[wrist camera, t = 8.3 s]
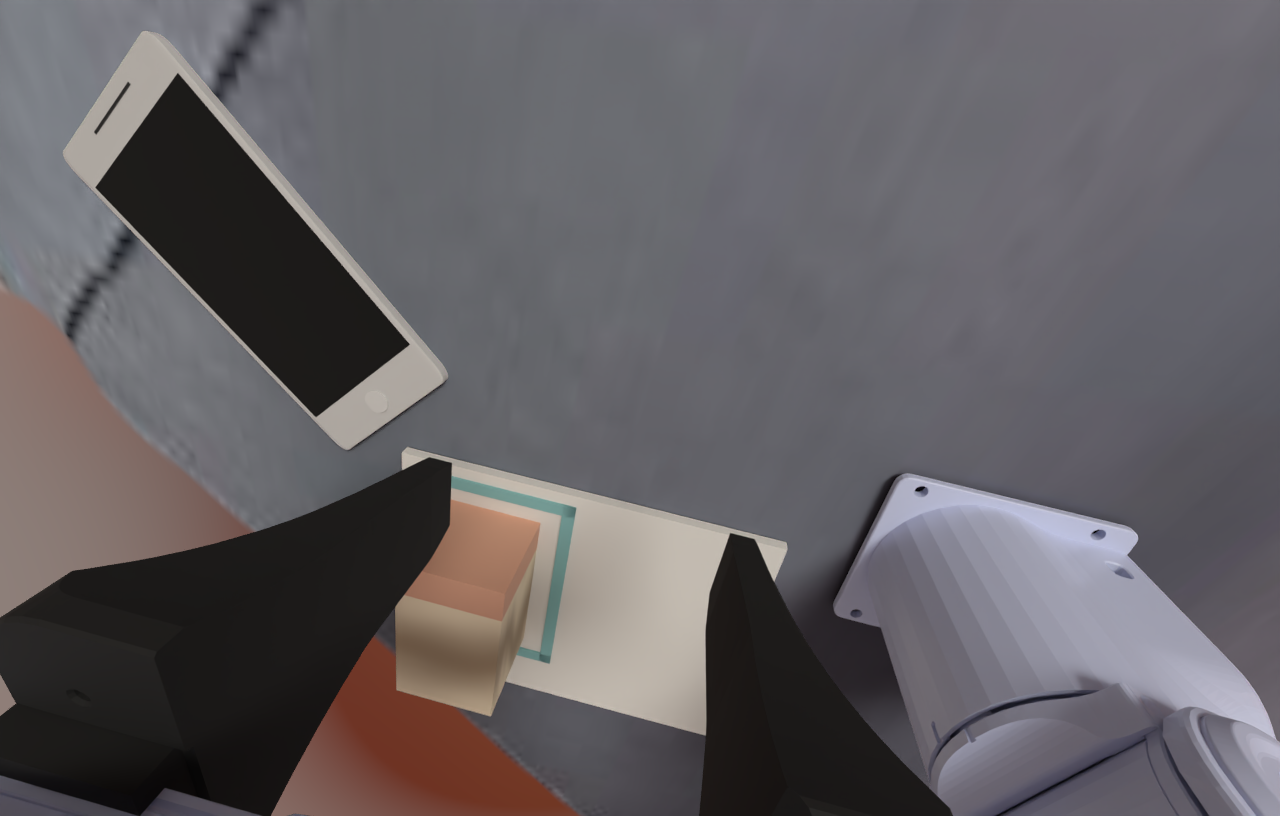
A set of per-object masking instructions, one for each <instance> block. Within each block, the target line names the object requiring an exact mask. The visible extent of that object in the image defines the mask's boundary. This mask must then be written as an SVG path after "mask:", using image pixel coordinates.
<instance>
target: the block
mask: <svg viewBox="0 0 1280 816" xmlns="http://www.w3.org/2000/svg"><path fill="white" fill-rule="evenodd" d="M540 524H541V523H539V522H535V521H531V520H528V519H524V518H520V517H516V516H512V515H509V514H505V513H501V512H497V511H493V510H489V509H486V508H482V507H478V506H474V505H470V504H467V503H463V502H459V501H455V500H451V507H450V526H449V528H448V530H447V532H446V533H445V535H444V537H443V539H442V541H441V543H440V544H439V546H438V548H437V549H436V551H435V553H434V555H433V556H432V558H431V560H430V561H429V562H428V564H427V565H426V567H425V568H424V569H423V571H422V572H421V573H420V575H419V576H418V577H417V579H416V580H415V581H414V583H413V584H412V585H411V587H410V588H409V589H408V591H407V592H406V593H405V595H404V596H403V597H402V599H401V600H400V601H399V603H398V604H397V605H396V607H395V624H396V686H397V687H396V690H398V691H402V692H405V693H409V694H412V695H416V696H419V697H423V698H426V699H430V700H434V701H437V702H441V703H444V704H448V705H452V706H455V707H459V708H462V709H466V710H469V711H473V712H477V713H480V714H484V715H487V716H491V715H492V712H493V710H494V708H495V705H496V703H497V700H498V698H499V696H500V693H501V691H502V688H503V686H504V684H505V681H506V679H507V677H508V674H509V672H510V669H511V667H512V665H513V662H514V660H515V657H516V655H517V653H518V650H519V648H520V645H521V643H522V641H523V638H524V633H525V626H526V619H527V612H528V606H529V599H530V592H531V585H532V578H533V571H534V565H535V558H536V551H537V544H538V537H539V530H540Z"/></svg>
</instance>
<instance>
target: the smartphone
mask: <svg viewBox="0 0 1280 816" xmlns="http://www.w3.org/2000/svg"><path fill="white" fill-rule="evenodd" d="M63 156H64V158H65V160H66V162H67V163H68V165H69V166H70V167H71V168H72V170H73V171H74V172H75V173H76V174H77V175H78V176H79V177H80V178H81V179H82V180H83V181H84V182H85V183H86V184H87V185H88V186H89V187H90V189H91V190H92V191H93V192H94V193H95V194H96V195H97V196H98V197H99V198H100V199H101V200H102V201H103V202H104V203H105V204H106V205H107V206H108V207H109V208H110V209H111V210H112V211H113V212H114V213H115V214H116V215H117V217H118V218H119V219H120V220H121V221H122V222H123V223H124V224H125V225H126V226H127V227H128V228H129V229H130V230H131V231H132V232H133V233H134V234H135V235H136V236H137V237H138V238H139V239H140V240H141V241H142V242H143V244H144V245H145V246H146V247H147V248H148V249H149V250H150V251H151V252H152V253H153V254H154V255H155V256H156V257H157V258H158V259H159V260H160V261H161V262H162V263H163V264H164V265H165V266H166V267H167V268H168V269H169V270H170V272H171V273H172V274H173V275H174V276H175V277H176V278H177V279H178V280H179V281H180V282H181V283H182V284H183V285H184V286H185V287H186V288H187V289H188V290H189V291H190V292H191V293H192V294H193V295H194V296H195V297H196V299H197V300H198V301H199V302H200V303H201V304H202V305H203V306H204V307H205V308H206V309H207V310H208V311H209V312H210V313H211V314H212V315H213V316H214V317H215V318H216V319H217V320H218V321H219V322H220V323H221V324H222V325H223V327H224V328H225V329H226V330H227V331H228V332H229V333H230V334H231V335H232V336H233V337H234V338H235V339H236V340H237V341H238V342H239V343H240V344H241V345H242V346H243V347H244V348H245V349H246V350H247V351H248V352H249V354H250V355H251V356H252V357H253V358H254V359H255V360H256V361H257V362H258V363H259V364H260V365H261V366H262V367H263V368H264V369H265V370H266V371H267V372H268V373H269V374H270V375H271V376H272V377H273V378H274V379H275V380H276V382H277V383H278V384H279V385H280V386H281V387H282V388H283V389H284V390H285V391H286V392H287V393H288V394H289V395H290V396H291V397H292V398H293V399H294V400H295V401H296V402H297V403H298V404H299V405H300V406H301V407H302V409H303V410H304V411H305V412H306V413H307V414H308V415H309V416H310V417H311V418H312V419H313V420H314V421H315V422H316V423H317V424H318V425H319V426H320V427H321V428H322V429H323V430H324V431H325V432H326V433H327V434H328V435H329V437H330V438H331V439H332V440H333V441H334V442H335V443H336V444H338V445H339V446H340V447H342V448H343V449H346V450H349V449H351V448H352V447H353V446H355V445H356V444H358V443H359V442H361V441H362V440H363V439H365V438H366V437H368V436H369V435H370V434H372V433H373V432H375V431H376V430H377V429H379V428H380V427H382V426H383V425H384V424H386V423H387V422H389V421H390V420H391V419H393V418H394V417H396V416H397V415H398V414H400V413H401V412H403V411H404V410H406V409H407V408H408V407H410V406H411V405H413V404H414V403H415V402H417V401H418V400H420V399H421V398H422V397H424V396H425V395H427V394H428V393H429V392H431V391H432V390H434V389H435V388H436V387H438V386H439V385H441V384H442V383H443V382H445V381H446V380H447V379H448V373H447V371H446V369H445V367H444V366H443V365H442V363H441V362H440V361H439V360H438V359H437V357H436V356H435V355H434V354H433V353H432V351H431V350H430V349H429V348H428V347H427V346H426V344H425V343H424V342H423V341H422V340H421V338H420V337H419V336H418V335H417V334H416V332H415V331H414V330H413V329H412V328H411V327H410V325H409V324H408V323H407V322H406V321H405V319H404V318H403V317H402V316H401V315H400V314H399V312H398V311H397V310H396V309H395V308H394V306H393V305H392V304H391V303H390V302H389V301H388V299H387V298H386V297H385V296H384V295H383V293H382V292H381V291H380V290H379V289H378V288H377V286H376V285H375V284H374V283H373V282H372V280H371V279H370V278H369V277H368V276H367V275H366V273H365V272H364V271H363V270H362V269H361V267H360V266H359V265H358V264H357V263H356V262H355V260H354V259H353V258H352V257H351V256H350V254H349V253H348V252H347V251H346V250H345V248H344V247H343V246H342V245H341V244H340V243H339V241H338V240H337V239H336V238H335V237H334V235H333V234H332V233H331V232H330V231H329V230H328V228H327V227H326V226H325V225H324V224H323V222H322V221H321V220H320V219H319V218H318V217H317V215H316V214H315V213H314V212H313V211H312V209H311V208H310V207H309V206H308V205H307V204H306V202H305V201H304V200H303V199H302V198H301V196H300V195H299V194H298V193H297V192H296V191H295V189H294V188H293V187H292V186H291V185H290V183H289V182H288V181H287V180H286V179H285V178H284V176H283V175H282V174H281V173H280V172H279V170H278V169H277V168H276V167H275V166H274V164H273V163H272V162H271V161H270V160H269V159H268V157H267V156H266V155H265V154H264V153H263V151H262V150H261V149H260V148H259V147H258V146H257V144H256V143H255V142H254V141H253V140H252V138H251V137H250V136H249V135H248V134H247V133H246V131H245V130H244V129H243V128H242V127H241V125H240V124H239V123H238V122H237V121H236V120H235V118H234V117H233V116H232V115H231V114H230V112H229V111H228V110H227V109H226V108H225V107H224V105H223V104H222V103H221V102H220V101H219V99H218V98H217V97H216V96H215V95H214V94H213V92H212V91H211V90H210V89H209V88H208V86H207V85H206V84H205V83H204V82H203V80H202V79H201V78H200V77H199V76H198V75H197V73H196V72H195V71H194V70H193V69H192V67H191V66H190V65H189V64H188V63H187V62H186V60H185V59H184V58H183V57H182V56H181V54H180V53H179V52H178V51H177V50H176V49H175V47H174V46H173V45H172V44H171V43H170V42H169V41H168V40H167V39H166V38H164V37H163V36H162V35H160V34H157V33H154V32H149V31H143V32H141V34H140V35H139V37H138V38H137V40H136V41H135V43H134V45H133V46H132V48H131V49H130V51H129V52H128V54H127V55H126V57H125V58H124V60H123V61H122V63H121V64H120V66H119V67H118V69H117V70H116V72H115V73H114V75H113V76H112V78H111V79H110V81H109V83H108V84H107V86H106V87H105V89H104V90H103V92H102V93H101V95H100V96H99V98H98V99H97V101H96V102H95V104H94V105H93V107H92V108H91V110H90V111H89V113H88V114H87V116H86V117H85V119H84V120H83V122H82V124H81V125H80V127H79V128H78V130H77V131H76V133H75V134H74V136H73V137H72V139H71V140H70V142H69V143H68V145H67V146H66V148H65V149H64V151H63Z"/></svg>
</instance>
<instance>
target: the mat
mask: <svg viewBox="0 0 1280 816" xmlns="http://www.w3.org/2000/svg"><path fill="white" fill-rule="evenodd" d="M429 457H431V458H435V459H439V460H443V461H447V462H451V463H452V479H451V500H455V501H459V502H463V503H467V504H470V505H474V506H478V507H482V508H486V509H489V510H493V511H497V512H501V513H505V514H509V515H512V516H516V517H520V518H524V519H528V520H531V521H535V522H539V523H541V524H540V530H539V537H538V544H537V551H536V558H535V565H534V571H533V578H532V585H531V592H530V599H529V606H528V612H527V619H526V626H525V633H524V638H523V641H522V643H521V645H520V648H519V650H518V653H517V655H516V657H515V660H514V662H513V665H512V667H511V669H510V672H509V674H508V677H507V679H506V681H505V682H509V683H513V684H517V685H520V686H524V687H528V688H531V689H535V690H539V691H542V692H546V693H550V694H553V695H557V696H561V697H565V698H568V699H572V700H576V701H579V702H583V703H587V704H590V705H594V706H598V707H602V708H605V709H609V710H613V711H616V712H620V713H624V714H627V715H631V716H635V717H639V718H642V719H646V720H650V721H653V722H657V723H661V724H664V725H668V726H672V727H676V728H679V729H683V730H687V731H690V732H694V733H698V734H701V735H705V736H706V649H705V630H706V620H707V610H708V602H709V593H710V590H711V587H712V584H713V581H714V578H715V575H716V572H717V569H718V567H719V564H720V561H721V558H722V555H723V552H724V549H725V546H726V543H727V541H728V538H729V535H730V533H733V534H737V535H741V536H745V537H749V538H753V539H755V541H756V542H757V544H758V547H759V549H760V551H761V554H762V556H763V558H764V561H765V563H766V565H767V567H768V570H769V572H770V574H771V576H772V578H773V580H774V581H775V578H776V576H777V574H778V571H779V569H780V566H781V564H782V562H783V559H784V557H785V554H786V552H787V543H786V542H783V541H779V540H775V539H771V538H767V537H763V536H759V535H755V534H751V533H747V532H743V531H739V530H735V529H731V528H727V527H723V526H719V525H715V524H711V523H707V522H703V521H699V520H695V519H691V518H687V517H683V516H679V515H675V514H672V513H668V512H664V511H660V510H656V509H652V508H648V507H644V506H640V505H636V504H632V503H628V502H624V501H620V500H616V499H612V498H608V497H604V496H600V495H596V494H592V493H588V492H584V491H580V490H576V489H572V488H568V487H564V486H560V485H556V484H552V483H548V482H544V481H540V480H536V479H532V478H528V477H524V476H520V475H516V474H512V473H508V472H504V471H500V470H496V469H492V468H488V467H484V466H480V465H476V464H472V463H468V462H464V461H461V460H457V459H453V458H449V457H445V456H441V455H437V454H433V453H429V452H425V451H421V450H417V449H413V448H409V447H407V448H406V449H405V450H404V451H403V452H402V470H404V469H406V468H408V467H410V466H412V465H414V464H416V463H418V462H420V461H422V460H424V459H426V458H429Z"/></svg>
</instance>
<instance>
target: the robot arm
mask: <svg viewBox="0 0 1280 816" xmlns="http://www.w3.org/2000/svg"><path fill="white" fill-rule="evenodd" d="M451 479H452V463H451V462H447V461H443V460H439V459H435V458H431V457H429V458H426V459H424V460H422V461H420V462H418V463H416V464H414V465H412V466H410V467H408V468H406V469H404V470H402V471H400V472H398V473H396V474H394V475H392V476H390V477H388V478H386V479H384V480H382V481H380V482H378V483H375V484H373V485H371V486H369V487H367V488H365V489H363V490H361V491H359V492H357V493H355V494H352V495H350V496H348V497H346V498H343V499H341V500H339V501H336V502H334V503H332V504H330V505H327V506H325V507H323V508H320V509H318V510H316V511H313V512H311V513H308V514H306V515H303V516H301V517H298V518H295V519H293V520H290V521H287V522H284V523H281V524H278V525H275V526H272V527H270V528H267V529H263V530H260V531H257V532H253V533H250V534H247V535H243V536H240V537H237V538H233V539H229V540H226V541H222V542H219V543H215V544H211V545H208V546H203V547H199V548H195V549H191V550H187V551H183V552H178V553H173V554H168V555H163V556H159V557H154V558H149V559H143V560H139V561H132V562H126V563H120V564H114V565H108V566H102V567H95V568H90V569H84V570H75V571H72V572H70V573H68V574H67V575H65V576H64V577H62V578H61V579H59V580H58V581H56V582H55V583H53V584H51V585H50V586H48V587H47V588H45V589H44V590H42V591H41V592H39V593H38V594H36V595H34V596H33V597H32V598H30V599H28V600H27V601H25V602H24V603H22V604H21V605H19V606H17V607H16V608H14V609H13V610H11V611H10V612H8V613H7V614H5V615H3V616H2V617H0V675H1V676H2V678H3V680H4V682H5V684H6V685H7V687H8V689H9V691H10V693H11V695H12V697H13V698H14V700H15V702H16V704H15V705H14V706H13V707H11V708H10V709H9V710H7V711H6V712H5V713H4V714H2V715H1V716H0V816H271V814H272V812H273V810H274V808H275V806H276V804H277V802H278V801H279V799H280V797H281V795H282V793H283V791H284V789H285V787H286V785H287V783H288V781H289V779H290V778H291V775H292V773H293V772H294V770H295V768H296V766H297V764H298V762H299V761H300V759H301V757H302V755H303V754H304V752H305V750H306V748H307V746H308V745H309V743H310V741H311V739H312V737H313V735H314V734H315V732H316V730H317V728H318V726H319V725H320V723H321V721H322V719H323V718H324V716H325V714H326V713H327V711H328V709H329V707H330V706H331V704H332V702H333V701H334V699H335V697H336V695H337V694H338V692H339V690H340V688H341V687H342V685H343V683H344V682H345V680H346V679H347V677H348V675H349V673H350V672H351V670H352V669H353V667H354V665H355V664H356V662H357V661H358V659H359V657H360V656H361V654H362V652H363V651H364V649H365V647H366V646H367V644H368V643H369V642H370V640H371V639H372V637H373V636H374V635H375V633H376V632H377V630H378V629H379V628H380V626H381V625H382V624H383V622H384V621H385V620H386V618H387V617H388V616H389V614H390V613H391V612H392V610H393V609H394V608H395V607H396V605H397V604H398V603H399V601H400V600H401V599H402V597H403V596H404V595H405V593H406V592H407V591H408V589H409V588H410V587H411V585H412V584H413V583H414V581H415V580H416V579H417V577H418V576H419V575H420V573H421V572H422V571H423V569H424V568H425V567H426V565H427V564H428V562H429V561H430V560H431V558H432V556H433V555H434V553H435V551H436V549H437V548H438V546H439V544H440V543H441V541H442V539H443V537H444V535H445V533H446V532H447V530H448V528H449V526H450V507H451ZM920 486H925V488H924V489H923V490H922V491H919V492H916V491H915V489H916V488H917V487H920ZM1095 530H1099V531H1097V532H1096V533H1093V534H1091V533H1092V532H1094V531H1095ZM1137 541H1138V535H1137V534H1136V533H1135V532H1134V531H1133V530H1132V529H1131V528H1130V527H1127V526H1125V525H1121V524H1116V523H1112V522H1108V521H1104V520H1100V519H1096V518H1092V517H1087V516H1083V515H1079V514H1075V513H1071V512H1067V511H1063V510H1059V509H1054V508H1050V507H1046V506H1042V505H1038V504H1034V503H1030V502H1026V501H1021V500H1017V499H1013V498H1009V497H1005V496H1001V495H997V494H993V493H988V492H984V491H980V490H976V489H972V488H968V487H964V486H960V485H955V484H951V483H947V482H943V481H939V480H935V479H931V478H927V477H922V476H918V475H914V474H907V473H906V474H902V475H900V476H898V477H897V478H896V479H895V481H894V482H893V484H892V486H891V488H890V490H889V492H888V494H887V496H886V498H885V500H884V502H883V504H882V506H881V508H880V510H879V512H878V514H877V516H876V518H875V520H874V522H873V524H872V526H871V528H870V530H869V532H868V534H867V536H866V538H865V540H864V542H863V544H862V546H861V548H860V550H859V552H858V554H857V556H856V558H855V560H854V562H853V564H852V566H851V568H850V570H849V572H848V574H847V576H846V578H845V580H844V582H843V584H842V586H841V588H840V590H839V592H838V594H837V596H836V598H835V600H834V602H833V608H834V612H835V614H836V615H837V616H839V617H841V618H845V619H849V620H853V621H857V622H861V623H865V624H869V625H872V626H876V627H880V628H881V630H882V633H883V637H884V640H885V643H886V646H887V649H888V652H889V656H890V659H891V662H892V665H893V668H894V672H895V675H896V678H897V681H898V684H899V687H900V691H901V694H902V697H903V700H904V703H905V707H906V710H907V713H908V716H909V719H910V722H911V726H912V729H913V732H914V735H915V738H916V742H917V745H918V748H919V751H920V754H921V757H922V761H923V764H924V767H925V770H926V773H927V777H928V780H929V783H930V787H929V788H928V787H927V786H926V785H925V784H924V783H923V782H922V781H921V780H920V779H919V778H918V777H917V776H916V775H915V774H914V773H913V772H912V771H911V770H910V769H909V768H908V767H907V766H906V765H905V764H904V763H903V762H902V761H901V760H900V759H899V758H898V757H897V756H896V755H895V754H894V753H893V752H892V751H891V750H890V748H889V747H888V746H887V745H886V744H885V743H884V742H883V741H882V740H881V739H880V738H879V737H878V736H877V734H876V733H875V732H874V731H873V730H872V729H871V728H870V726H869V725H868V724H867V723H866V722H865V721H864V720H863V718H862V717H861V716H860V715H859V713H858V712H857V711H856V710H855V709H854V707H853V706H852V705H851V704H850V702H849V701H848V700H847V699H846V697H845V696H844V695H843V694H842V692H841V691H840V690H839V688H838V687H837V686H836V685H835V683H834V682H833V681H832V679H831V678H830V676H829V675H828V674H827V672H826V671H825V669H824V668H823V666H822V665H821V663H820V662H819V661H818V659H817V658H816V656H815V655H814V653H813V652H812V650H811V648H810V647H809V645H808V644H807V642H806V640H805V638H804V637H803V635H802V633H801V632H800V630H799V628H798V627H797V625H796V623H795V621H794V619H793V618H792V616H791V614H790V612H789V610H788V608H787V606H786V604H785V603H784V601H783V599H782V597H781V595H780V593H779V591H778V589H777V587H776V585H775V583H774V580H773V578H772V576H771V574H770V572H769V570H768V567H767V565H766V563H765V561H764V558H763V556H762V554H761V551H760V549H759V547H758V544H757V542H756V541H755V539H753V538H749V537H745V536H741V535H737V534H733V533H730V535H729V538H728V541H727V543H726V546H725V549H724V552H723V555H722V558H721V561H720V564H719V567H718V569H717V572H716V575H715V578H714V581H713V584H712V587H711V590H710V593H709V602H708V610H707V620H706V630H705V649H706V744H705V756H704V768H703V780H702V791H701V802H700V813H699V816H1280V742H1279V741H1277V740H1276V738H1275V735H1274V731H1273V728H1272V725H1271V722H1270V720H1269V717H1268V714H1267V712H1266V710H1265V708H1264V706H1263V704H1262V702H1261V700H1260V698H1259V696H1258V695H1257V693H1256V692H1255V690H1254V689H1253V687H1252V686H1251V685H1250V683H1249V682H1248V681H1247V679H1246V678H1245V677H1244V676H1243V674H1242V673H1241V672H1240V671H1239V670H1238V669H1237V668H1236V667H1235V666H1234V665H1233V664H1232V663H1231V662H1230V661H1229V660H1228V659H1227V658H1226V656H1225V655H1224V654H1223V653H1222V652H1221V651H1220V650H1219V649H1218V648H1217V647H1216V646H1215V645H1214V644H1213V643H1212V642H1211V641H1210V640H1209V639H1208V638H1207V637H1206V636H1205V635H1204V634H1203V633H1202V632H1201V631H1200V630H1199V629H1198V628H1197V627H1196V626H1195V625H1194V624H1193V623H1192V622H1191V621H1190V619H1189V618H1188V617H1187V616H1186V615H1185V614H1184V613H1183V612H1182V611H1181V610H1180V609H1179V608H1178V607H1177V606H1176V605H1175V604H1174V603H1173V602H1172V601H1171V600H1170V599H1169V598H1168V597H1167V596H1166V595H1165V594H1164V593H1163V592H1162V591H1161V590H1160V589H1159V588H1158V587H1157V586H1156V585H1155V584H1154V582H1153V581H1152V580H1151V579H1150V578H1149V577H1148V576H1147V575H1146V574H1145V573H1144V572H1143V571H1142V570H1141V569H1140V568H1139V567H1138V566H1137V565H1136V564H1135V563H1134V562H1133V561H1132V560H1131V559H1130V558H1129V557H1128V556H1127V554H1128V553H1129V552H1130V551H1131V549H1132V548H1133V547H1134V546H1135V544H1136V543H1137ZM855 609H858V611H852V610H855ZM289 816H307V815H301V814H292V815H289Z"/></svg>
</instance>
